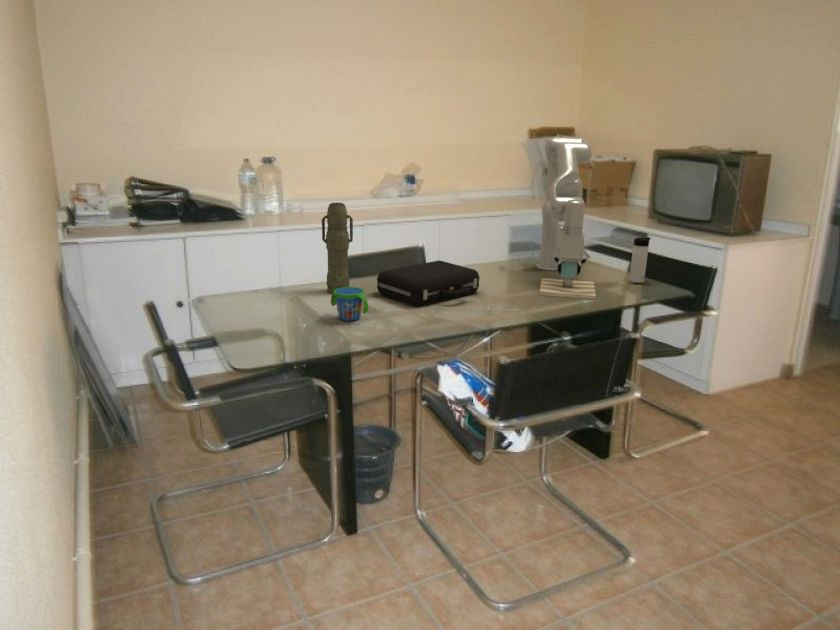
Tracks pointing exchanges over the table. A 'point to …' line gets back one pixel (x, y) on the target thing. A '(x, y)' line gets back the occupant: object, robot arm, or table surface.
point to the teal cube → (569, 269)
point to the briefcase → (427, 282)
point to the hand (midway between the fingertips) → (568, 273)
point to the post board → (567, 288)
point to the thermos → (337, 245)
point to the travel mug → (639, 260)
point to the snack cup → (349, 302)
